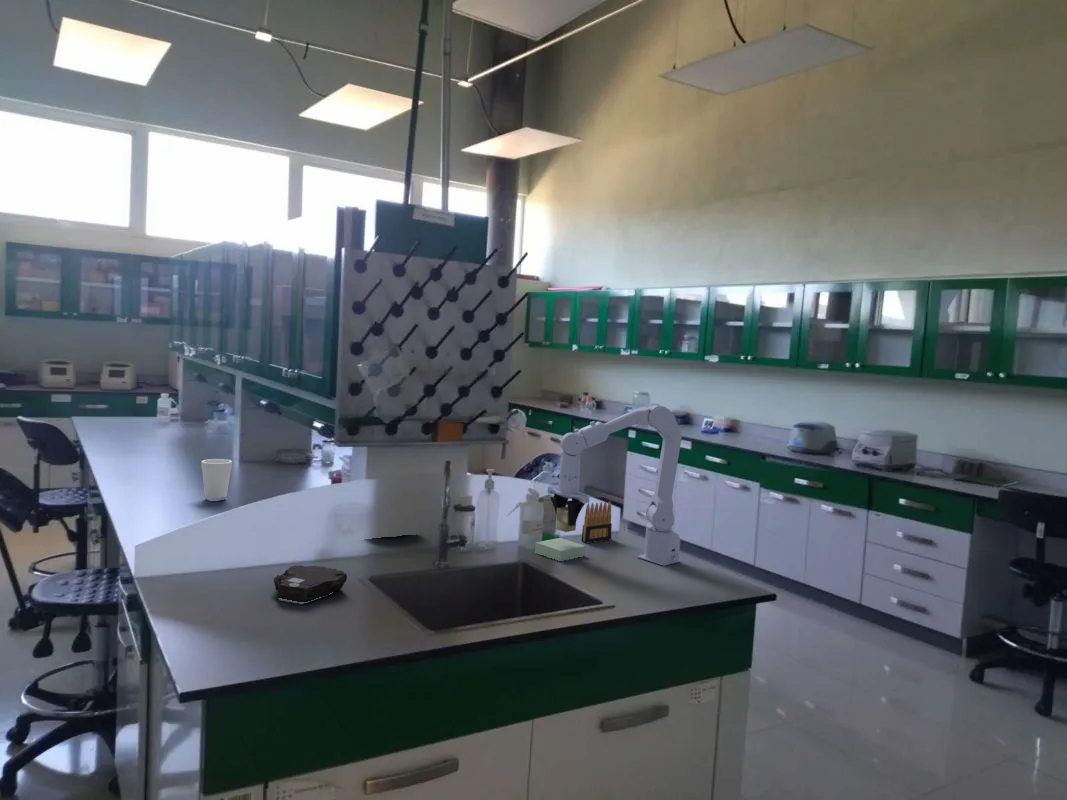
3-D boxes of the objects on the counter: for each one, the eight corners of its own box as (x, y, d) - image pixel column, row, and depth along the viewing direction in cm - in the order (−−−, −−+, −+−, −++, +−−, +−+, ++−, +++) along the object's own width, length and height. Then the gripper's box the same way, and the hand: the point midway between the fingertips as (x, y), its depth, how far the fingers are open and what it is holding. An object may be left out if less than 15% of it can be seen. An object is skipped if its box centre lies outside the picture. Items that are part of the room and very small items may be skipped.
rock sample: (270, 583, 177) (270, 562, 176) (339, 579, 183) (340, 559, 182) (276, 609, 161) (277, 586, 160) (351, 604, 167) (352, 581, 166)
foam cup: (236, 500, 257) (238, 461, 256) (212, 504, 249) (213, 464, 248) (219, 495, 262) (220, 458, 261) (194, 499, 254) (195, 460, 253)
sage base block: (584, 556, 215) (585, 545, 215) (560, 561, 208) (560, 550, 208) (559, 547, 222) (560, 537, 222) (534, 552, 216) (535, 542, 215)
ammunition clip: (585, 543, 229) (587, 504, 229) (581, 541, 231) (583, 502, 230) (611, 539, 236) (614, 501, 235) (607, 538, 237) (610, 500, 237)
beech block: (575, 530, 215) (577, 509, 214) (565, 532, 212) (567, 510, 212) (565, 527, 218) (566, 506, 217) (555, 528, 215) (557, 507, 214)
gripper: (541, 472, 216) (538, 519, 217) (578, 481, 206) (574, 530, 207) (558, 470, 221) (555, 516, 222) (596, 479, 211) (592, 527, 212)
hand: (566, 523), depth 215 cm, fingers closed on beech block, 4 cm apart
